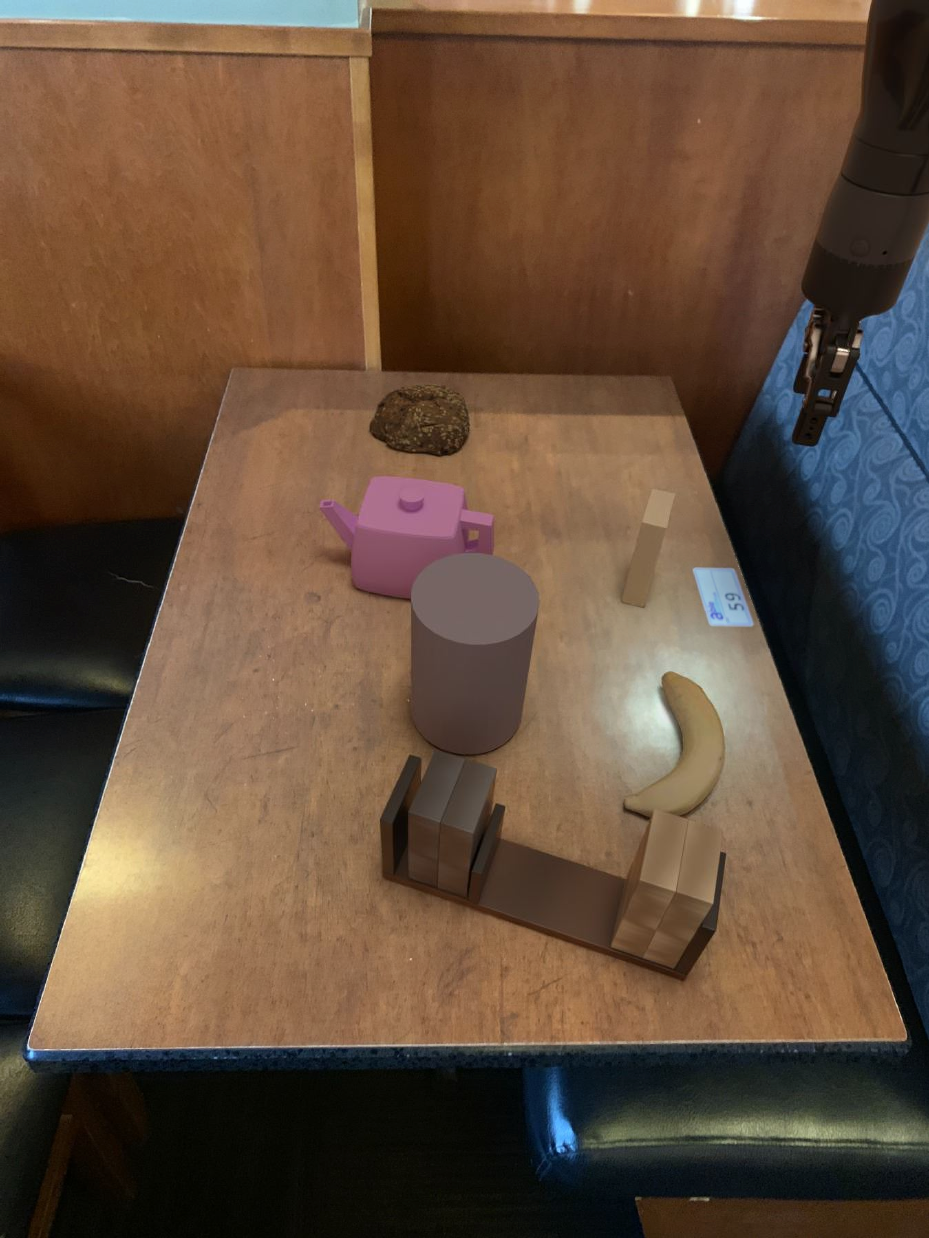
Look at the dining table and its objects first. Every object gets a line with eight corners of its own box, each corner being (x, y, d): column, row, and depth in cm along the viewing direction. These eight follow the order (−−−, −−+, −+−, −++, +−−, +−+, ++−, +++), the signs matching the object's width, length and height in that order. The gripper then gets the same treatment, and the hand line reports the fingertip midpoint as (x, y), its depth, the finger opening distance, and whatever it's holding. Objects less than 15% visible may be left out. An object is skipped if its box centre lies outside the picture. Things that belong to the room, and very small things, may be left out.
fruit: (733, 707, 80) (743, 685, 78) (704, 840, 70) (714, 819, 68) (659, 683, 82) (666, 661, 79) (620, 810, 72) (627, 789, 70)
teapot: (313, 590, 88) (305, 514, 81) (337, 525, 95) (331, 450, 88) (485, 612, 87) (492, 537, 80) (496, 545, 94) (503, 470, 87)
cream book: (652, 573, 92) (675, 493, 84) (643, 607, 89) (666, 528, 81) (631, 567, 93) (651, 488, 85) (621, 601, 89) (641, 522, 81)
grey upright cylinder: (404, 751, 75) (403, 638, 64) (417, 662, 82) (418, 548, 71) (520, 761, 75) (539, 650, 64) (523, 671, 82) (540, 558, 71)
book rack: (695, 907, 66) (738, 831, 58) (684, 981, 62) (728, 911, 54) (409, 814, 71) (409, 730, 62) (382, 877, 67) (378, 797, 58)
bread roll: (471, 403, 114) (473, 370, 110) (467, 459, 105) (469, 424, 101) (376, 397, 113) (375, 364, 110) (364, 452, 105) (363, 418, 101)
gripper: (926, 287, 60) (848, 470, 72) (911, 209, 70) (844, 382, 82) (817, 272, 62) (758, 455, 74) (816, 198, 71) (764, 370, 83)
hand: (803, 416), depth 78 cm, fingers open, 8 cm apart
